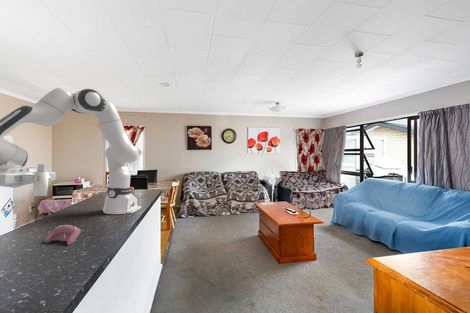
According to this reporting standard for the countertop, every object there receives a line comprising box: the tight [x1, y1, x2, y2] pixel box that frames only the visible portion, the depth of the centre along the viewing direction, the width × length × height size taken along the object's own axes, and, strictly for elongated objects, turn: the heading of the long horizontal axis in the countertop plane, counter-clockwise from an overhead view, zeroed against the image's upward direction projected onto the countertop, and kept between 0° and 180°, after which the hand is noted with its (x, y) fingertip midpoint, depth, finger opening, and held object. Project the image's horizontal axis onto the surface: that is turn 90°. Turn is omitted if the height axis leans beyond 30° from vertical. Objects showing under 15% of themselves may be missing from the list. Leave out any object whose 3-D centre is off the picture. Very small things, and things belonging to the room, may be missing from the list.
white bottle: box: [32, 163, 49, 197], centre depth 87 cm, size 3×5×12 cm, turn 81°
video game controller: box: [44, 224, 82, 246], centre depth 82 cm, size 10×5×7 cm, turn 85°
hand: (43, 178), depth 87 cm, fingers closed on white bottle, 3 cm apart
